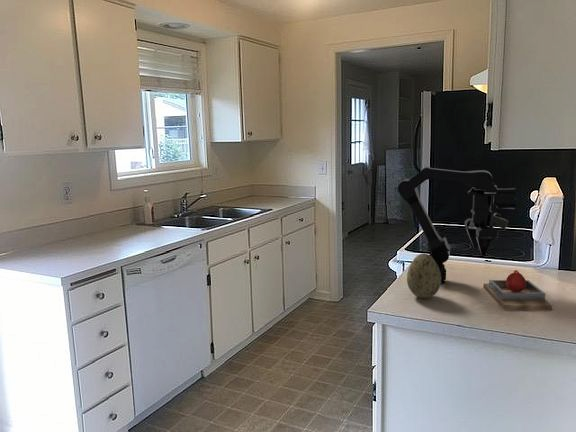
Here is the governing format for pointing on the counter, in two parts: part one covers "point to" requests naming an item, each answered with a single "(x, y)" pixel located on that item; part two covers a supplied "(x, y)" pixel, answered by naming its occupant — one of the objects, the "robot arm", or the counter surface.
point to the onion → (516, 282)
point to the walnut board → (518, 304)
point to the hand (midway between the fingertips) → (479, 251)
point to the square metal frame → (517, 296)
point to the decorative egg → (424, 276)
